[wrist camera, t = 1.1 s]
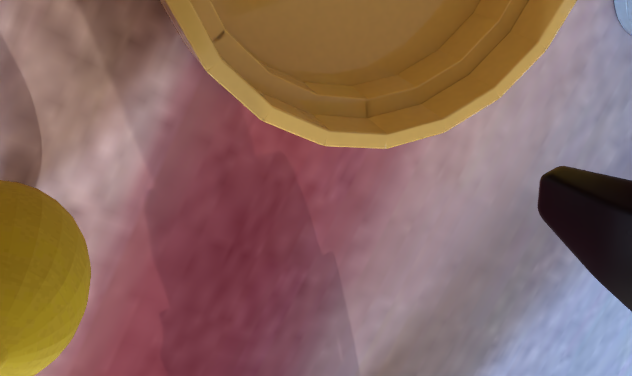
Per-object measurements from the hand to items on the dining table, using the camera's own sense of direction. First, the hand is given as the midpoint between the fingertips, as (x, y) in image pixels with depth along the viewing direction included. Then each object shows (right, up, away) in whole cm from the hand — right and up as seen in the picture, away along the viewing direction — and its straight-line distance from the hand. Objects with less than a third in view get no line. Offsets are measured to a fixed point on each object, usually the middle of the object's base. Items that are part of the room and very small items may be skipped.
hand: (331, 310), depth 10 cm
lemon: (-12, +1, +12) cm, 16 cm away
